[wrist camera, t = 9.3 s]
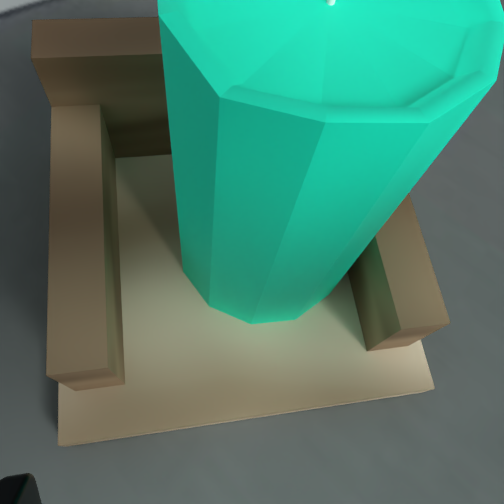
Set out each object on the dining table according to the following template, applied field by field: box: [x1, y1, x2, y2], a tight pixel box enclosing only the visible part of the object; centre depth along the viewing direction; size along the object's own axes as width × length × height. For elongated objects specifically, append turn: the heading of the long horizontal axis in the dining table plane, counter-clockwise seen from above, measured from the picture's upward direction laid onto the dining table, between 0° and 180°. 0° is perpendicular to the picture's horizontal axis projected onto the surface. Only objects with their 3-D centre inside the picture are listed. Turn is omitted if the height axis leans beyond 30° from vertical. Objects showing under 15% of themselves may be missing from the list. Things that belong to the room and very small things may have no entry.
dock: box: [31, 17, 450, 446], centre depth 15 cm, size 12×12×6 cm
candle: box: [158, 0, 504, 324], centre depth 12 cm, size 6×6×12 cm
